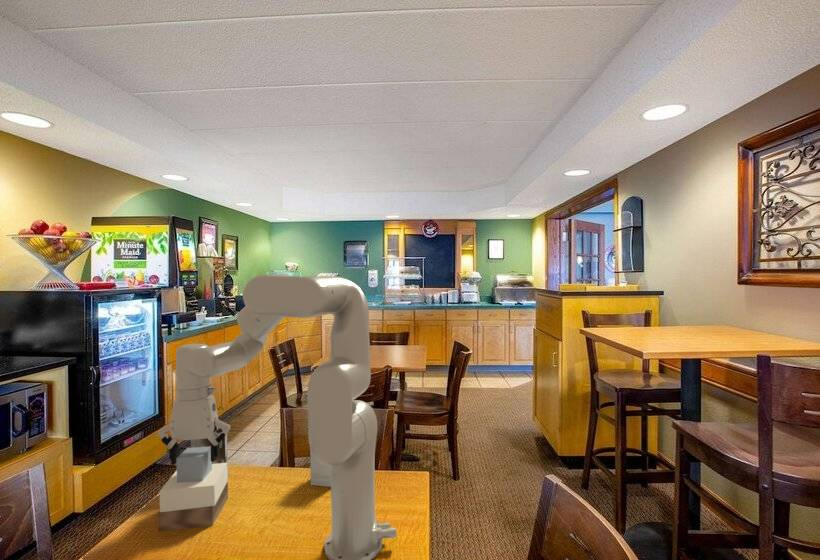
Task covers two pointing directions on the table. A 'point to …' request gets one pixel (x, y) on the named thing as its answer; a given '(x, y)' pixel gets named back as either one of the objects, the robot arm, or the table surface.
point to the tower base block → (192, 515)
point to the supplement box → (319, 472)
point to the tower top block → (194, 490)
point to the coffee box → (206, 443)
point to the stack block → (194, 464)
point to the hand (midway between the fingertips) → (195, 460)
